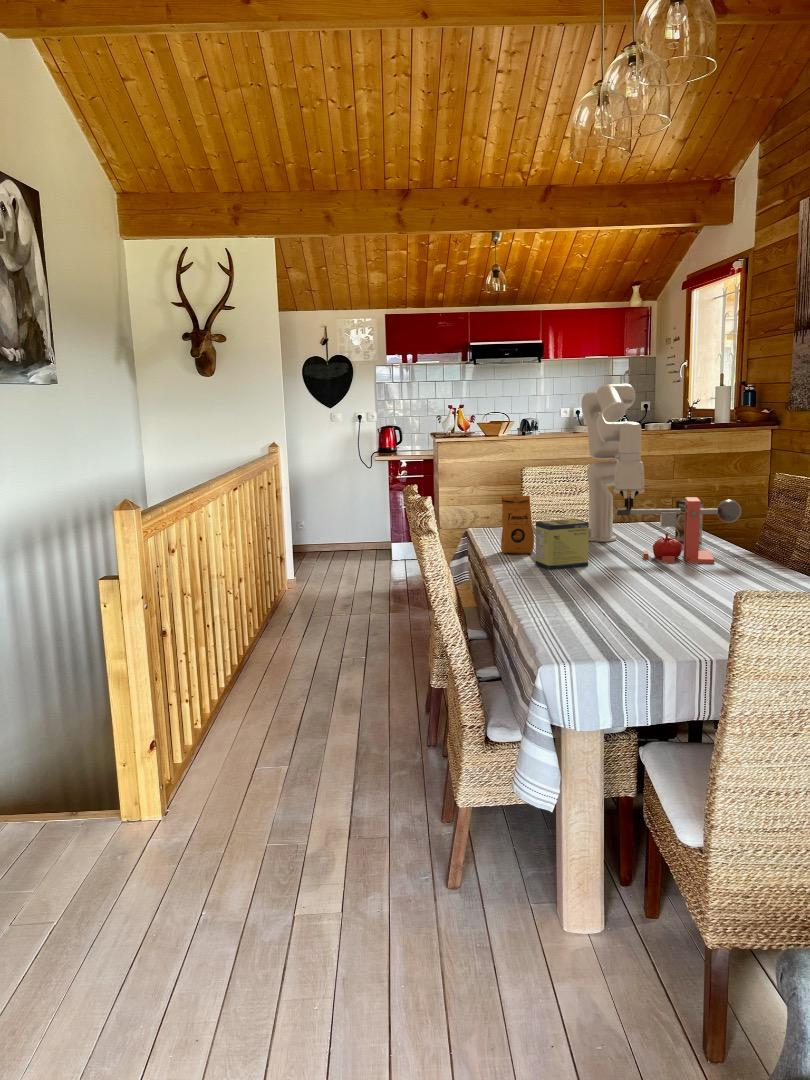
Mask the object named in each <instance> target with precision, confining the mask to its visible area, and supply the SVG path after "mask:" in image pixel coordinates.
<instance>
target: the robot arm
mask: <svg viewBox="0 0 810 1080" xmlns="http://www.w3.org/2000/svg"><path fill="white" fill-rule="evenodd" d="M635 401H636V391H635V388H634V387H633V386H632V385H631V384H628V383H612V384H611V383H610V384H609V383H608V384H604V385H601V386H600V387H599V388H598V389H597V390H596V391H595V390H593V391H589V392H586V393H584V394H583V395H582V398H581V412H582V414H583V419H584V420H585V423H586V427H587V439H588V440H587V441H588V442H587V443H588V451H589V456H590V457H591V458H592V459H593V460H616V461H599V462H598V461H597V462H592V463H591V464H590V465H589V466H588V467H587V468H586V477H587V484H588V522H589V536H588V542H595V543H596V542H601V543H604V542H614V541H616V540H617V536H616V535H613V534H614V533H613V530H614V529H613V526H614V525H613V523H614V522H613V520H614V518H613V517H614V513H613V512H614V496H613V494H612V492H611V491H610V490H609V488H608V487H610V486H614V488H613V493H615V494H619V495H621V496H622V497H623V498H624V508H627V510H628V509H630V510H631V509H632V508H634V498H635V497H636V496H638V495H640V494H644V493H646V492H645V491H646V490H645V466H644V462H643V461H641V460H642V459H641V457H642V425H641V424H640V423H639V422H635V421H620V420H621V419H623V417H624V416H625V415H626V411H627V410H628V409H629V408H630V407H632V406H633V405H634V403H635ZM628 491H631V492H630V496H628Z"/></svg>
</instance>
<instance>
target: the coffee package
mask: <svg viewBox="0 0 810 1080" xmlns="http://www.w3.org/2000/svg"><path fill="white" fill-rule="evenodd" d="M501 503H502V504H501V505H502V508H501V509H502V511H501V516H502V517H501V525H502V531H501V537H500V538H501V539H500V550H501V552H502V553H504V554H511V555H516V554H517V555H519V554H520V555H525V554H530V555H531V554H533V550H534V548H535V535H534V529H533V523H532V522H533V520H532V511H531V510H532V509H531V497H530V495H518V496H516V495H515V496H514V495H502V496H501Z"/></svg>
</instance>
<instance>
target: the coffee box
mask: <svg viewBox="0 0 810 1080" xmlns="http://www.w3.org/2000/svg"><path fill="white" fill-rule="evenodd" d="M675 502H676V503H675V504H676V505H675V509H681V514H676V527H675V530H674V531H675V533H674V538H676V539H674V540H677V539H678V541H679V542H682V543H684V526H685V499H679V500H676V501H675ZM700 509H704V501H703V502H702V501H700ZM703 519H704V514H700V525H699V543H702V540H703V538H702V536H703Z"/></svg>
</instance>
